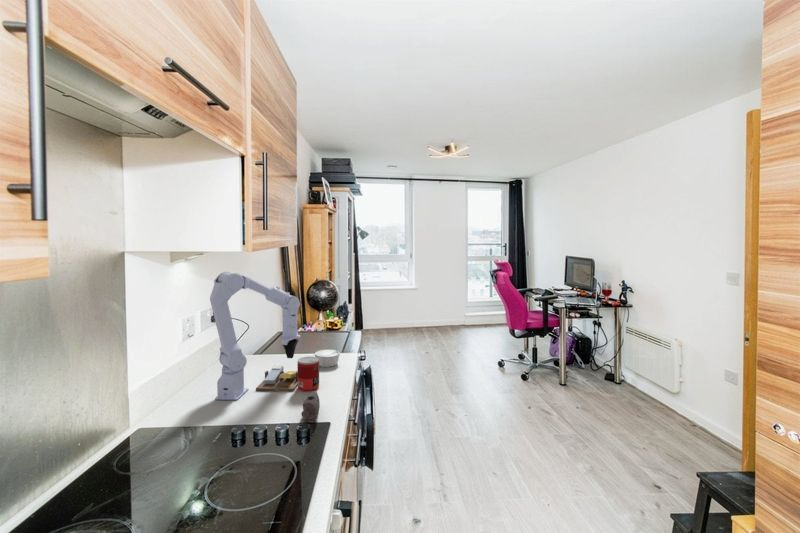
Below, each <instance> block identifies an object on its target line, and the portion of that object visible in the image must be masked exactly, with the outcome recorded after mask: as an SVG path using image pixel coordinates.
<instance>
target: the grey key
mask: <svg viewBox="0 0 800 533" xmlns="http://www.w3.org/2000/svg"><path fill="white" fill-rule="evenodd" d="M281 371H284V366H283V365H282V364H280V365H277V364H276V365H275V364H274V365H273V366H272V368H271V369H270V371H268V375H267V377H266V378H265V377H264V380H263V381H264V382H265V384H275V383H276V381H277V380H278V378H279V376H280V372H281Z"/></svg>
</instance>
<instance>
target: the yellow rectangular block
mask: <svg viewBox="0 0 800 533" xmlns="http://www.w3.org/2000/svg"><path fill="white" fill-rule="evenodd" d="M297 371H298V370H288V371H285V372H284V373H282V374H280V378H293V377H296V374H295V373H296V372H297Z"/></svg>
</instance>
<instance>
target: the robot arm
mask: <svg viewBox="0 0 800 533" xmlns="http://www.w3.org/2000/svg"><path fill="white" fill-rule="evenodd" d="M247 289H249V290H252V291H253V292H256V293H259V294H260V295H264V297H265V299H266V301H269V302H270V303H273V304H275V305H277V306H279V307H280V308H282V335H281V338H282V339H281V346H282V347H283V348H284V351H285V355H286V358H287V359H293V358H294V355H295V350H296V347H297V346H298V345H297V344H298V342H299V338H301V335H300V334H299V331H298V313H299V311H298V310H299V308H300V306H301V302H300V299H299V298H298V297H297V296H295V295H291V294H290V293H291V292H288V291H284V290H282V289H281V287H280V286H271V287H268V286H267V285H264V284H262V283H260V282H259V281H257V280H255V279H253V278H251V277H249V276H245V275H242V274H240V273H235V272H234V273H233V272H230V271H223V272H220V274H218V275H217V276H216V278H215V279H214V280H213V287H212V291H211V293H210V296H209V301H210V306H211V310H212V313H213V317H214V322H215V326H216V329H217V333H218V337H219V341H220V347H219V352H220V353H219V358H218V361H219V363H220V364H221V365H222V367H221V375H220V377H219V378H218V380H217V383H216V384H217V386H216V388H217V395H216V397H215V398H214V400H217V401H218V400H223V401H225V400H227V401H237V400H239V399H240V398H241V397H243V395H244V394H245V393H246V392H248V391H249V387H245V367H246V365H247V360H248V359H247V358H246V356H245V354H244V353H243V351H242V348H241V347H240V345H239V343H238V341H237V337H236V332H235V328H234V324H233V320H232V315H231V311H230V306H229V300H230V299H231V297H233V295H235V294H237V293H238V292H239V291H241V290H247Z"/></svg>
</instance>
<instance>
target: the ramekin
mask: <svg viewBox="0 0 800 533" xmlns="http://www.w3.org/2000/svg"><path fill="white" fill-rule="evenodd" d="M314 352H315V351H314ZM340 355H341V354H340V351H338V350H336V349H321V350H317V351H316V352H315V353H314V357H317V358H319V367H320V366H321V367H320V368H330V367H329V366H332V367H335V366H337V364H338V362H339V358H340V357H339V356H340ZM334 365H335V366H334Z"/></svg>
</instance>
